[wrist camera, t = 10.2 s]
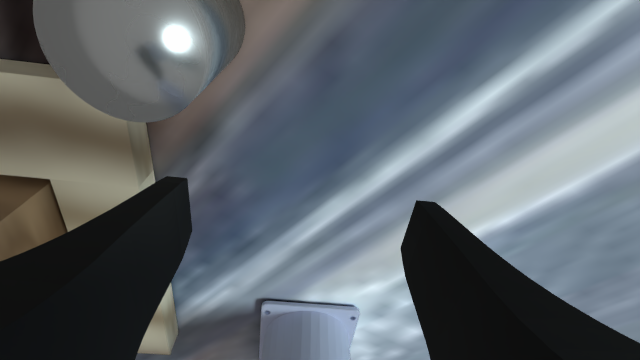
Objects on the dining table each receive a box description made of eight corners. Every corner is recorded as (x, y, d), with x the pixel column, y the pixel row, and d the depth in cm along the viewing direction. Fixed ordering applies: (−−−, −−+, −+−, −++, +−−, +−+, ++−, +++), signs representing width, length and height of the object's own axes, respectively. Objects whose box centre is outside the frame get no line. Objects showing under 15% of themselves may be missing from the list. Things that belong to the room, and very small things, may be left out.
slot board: (178, 332, 29) (170, 354, 27) (6, 321, 28) (-14, 344, 26) (138, 75, 18) (119, 85, 16) (-155, 40, 17) (-209, 48, 15)
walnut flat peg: (82, 233, 23) (2, 323, 17) (37, 229, 23) (-61, 319, 17) (63, 171, 21) (-39, 251, 15) (12, 166, 20) (-114, 245, 14)
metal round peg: (244, 77, 18) (209, 129, 12) (147, 66, 17) (59, 113, 11) (245, -33, 15) (200, -39, 9) (131, -50, 15) (6, -67, 9)
